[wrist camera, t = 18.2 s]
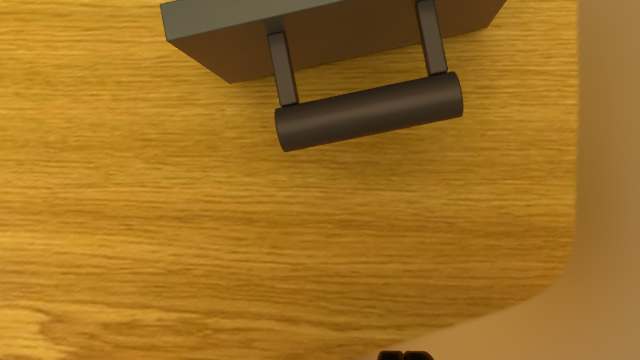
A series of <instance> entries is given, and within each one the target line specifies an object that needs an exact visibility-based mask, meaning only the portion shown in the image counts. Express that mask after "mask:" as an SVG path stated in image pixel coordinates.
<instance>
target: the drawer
mask: <svg viewBox="0 0 640 360" xmlns="http://www.w3.org/2000/svg"><path fill="white" fill-rule="evenodd" d="M506 1H507V0H176V1H172V2H167V3H163V4H160V9H161V14H162V20H163V25H164V30H165V36H166V40H167V42H169V43H170V44H172V45H173V46H175V47H176V48H178V49H179V50H181V51H182V52H184V53H185V54H187V55H188V56H190V57H191V58H193V59H194V60H196V61H197V62H199V63H200V64H201V65H203V66H204V67H206V68H207V69H209V70H210V71H212V72H213V73H215V74H216V75H218V76H219V77H221V78H222V79H224V80H225V81H227V82H228V83H230V84H231V83H236V82H240V81H245V80H250V79H254V78H259V77H263V76H268V75H273V74H274V76H275V81H276V87H277V92H278V97H279V102H280V106H281V108H277V109H275V124H276V130H277V134H278V138H279V142H280V145H281V147H282V149H283V151H284V152H289V151H294V150H299V149H304V148H309V147H314V146H319V145H324V144H329V143H334V142H339V141H344V140H349V139H354V138H359V137H364V136H369V135H374V134H379V133H384V132H389V131H393V130H398V129H403V128H408V127H413V126H418V125H423V124H428V123H433V122H438V121H443V120H448V119H453V118H458V117H461V116H462V115H463V97H462V91H461V86H460V83H459V79H458V77H457V75H456V73H455V72H448V73H447V71H448V67H447V62H446V57H445V52H444V47H443V42H442V38H443V37H448V36H452V35H457V34H462V33H466V32H471V31H475V30H480V29H485V28H487V27H488V25H489V24H490V23H491V21H492V20H493V18H494V17H495V16H496V14H497V13H498V12H499V10H500V9H501V7H502V6H503V5H504V3H505V2H506ZM420 42H421V43H422V48H423V53H424V58H425V63H426V68H427V73H428V77H424V78H419V79H415V80H410V81H405V82H400V83H396V84H391V85H386V86H381V87H377V88H372V89H367V90H362V91H358V92H353V93H348V94H343V95H338V96H334V97H329V98H324V99H319V100H315V101H310V102H305V103H300V104H299V98H298V93H297V88H296V83H295V77H294V72H293V70H296V69H300V68H305V67H309V66H314V65H319V64H323V63H328V62H333V61H337V60H342V59H346V58H351V57H356V56H360V55H365V54H369V53H374V52H379V51H383V50H388V49H392V48H397V47H402V46H406V45H411V44H416V43H420Z"/></svg>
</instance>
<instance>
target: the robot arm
mask: <svg viewBox="0 0 640 360" xmlns="http://www.w3.org/2000/svg"><path fill="white" fill-rule="evenodd" d="M377 360H434V359H433V358H432V356H431V355H430V354H429V353H427V352H425V351H406V352H405V353H404V354H403V353H402V352H401V351H381V352H380V353H379V355H378V359H377Z"/></svg>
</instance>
